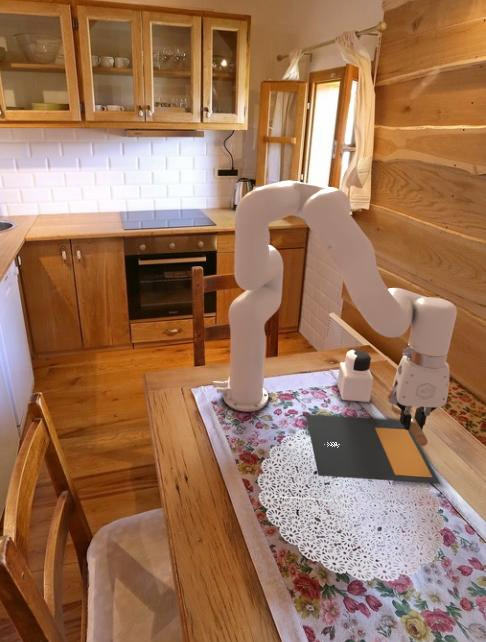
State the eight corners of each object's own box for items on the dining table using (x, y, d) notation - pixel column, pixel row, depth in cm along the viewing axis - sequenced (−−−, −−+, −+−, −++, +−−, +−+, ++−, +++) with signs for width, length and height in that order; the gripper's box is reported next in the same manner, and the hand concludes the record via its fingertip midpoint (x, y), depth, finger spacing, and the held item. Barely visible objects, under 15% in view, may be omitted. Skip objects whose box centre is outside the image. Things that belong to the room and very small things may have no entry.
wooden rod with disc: (434, 449, 86) (436, 440, 85) (411, 447, 86) (413, 439, 85) (407, 404, 100) (409, 396, 99) (388, 403, 100) (389, 395, 99)
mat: (318, 476, 89) (318, 474, 89) (305, 415, 108) (305, 414, 108) (440, 484, 87) (440, 483, 87) (405, 421, 106) (405, 420, 106)
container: (363, 386, 120) (369, 347, 116) (369, 402, 113) (377, 362, 109) (336, 384, 121) (342, 345, 117) (341, 400, 114) (347, 360, 110)
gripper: (393, 362, 83) (380, 436, 89) (474, 366, 82) (455, 440, 88) (382, 344, 90) (370, 413, 96) (456, 348, 89) (440, 417, 95)
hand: (411, 425), depth 92 cm, fingers closed on wooden rod with disc, 2 cm apart
